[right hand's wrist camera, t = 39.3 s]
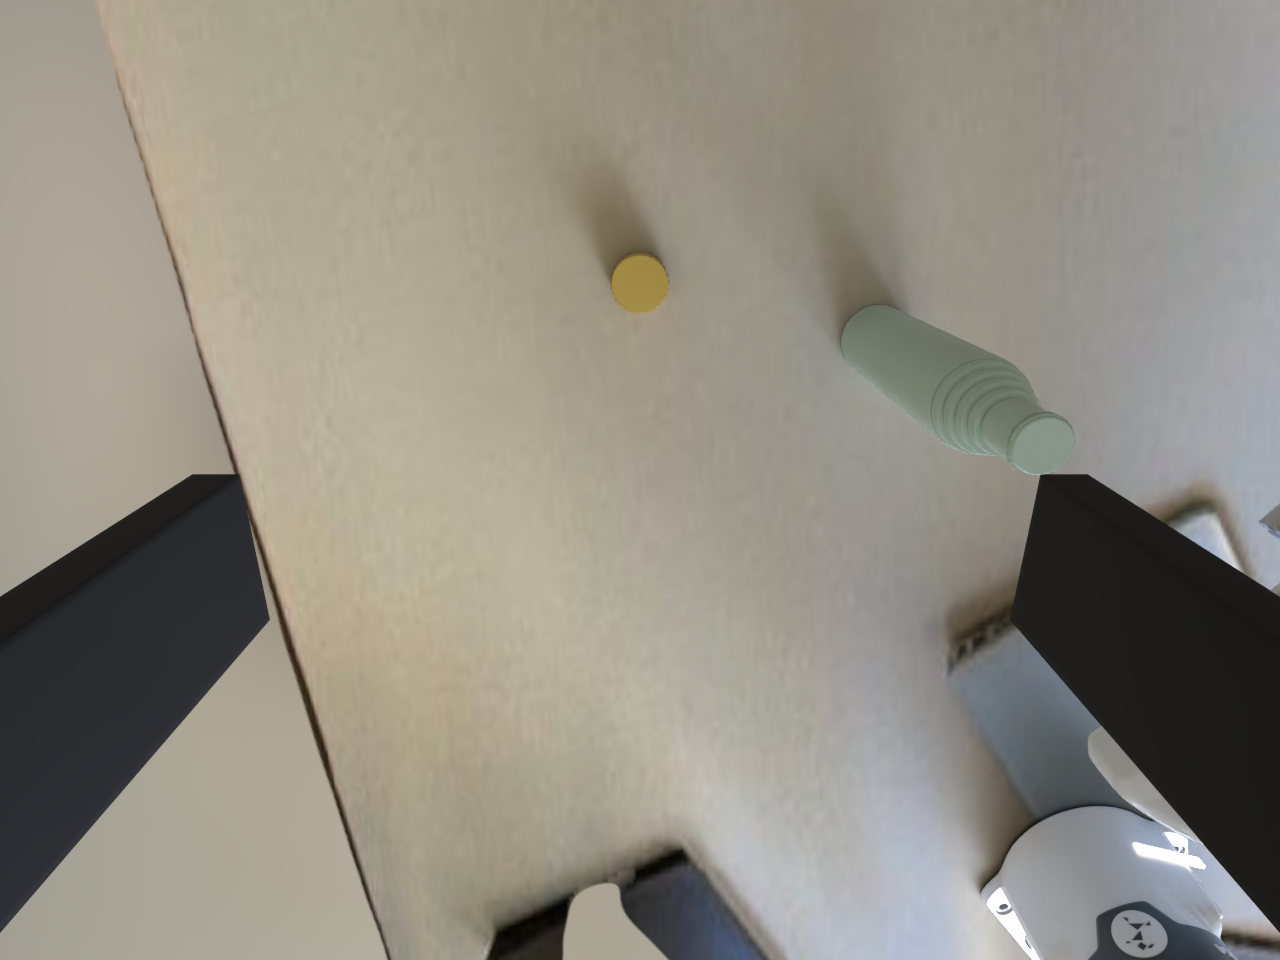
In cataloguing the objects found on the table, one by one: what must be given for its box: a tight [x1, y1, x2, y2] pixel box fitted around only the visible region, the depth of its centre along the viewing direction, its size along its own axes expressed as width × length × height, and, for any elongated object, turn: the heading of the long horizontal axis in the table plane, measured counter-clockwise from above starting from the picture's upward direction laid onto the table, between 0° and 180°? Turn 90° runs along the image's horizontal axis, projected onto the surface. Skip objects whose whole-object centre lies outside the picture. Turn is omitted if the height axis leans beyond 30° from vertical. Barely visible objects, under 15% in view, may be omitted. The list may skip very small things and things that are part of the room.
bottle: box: [841, 305, 1074, 475], centre depth 41 cm, size 5×5×23 cm
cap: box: [611, 251, 669, 313], centre depth 49 cm, size 4×4×2 cm
